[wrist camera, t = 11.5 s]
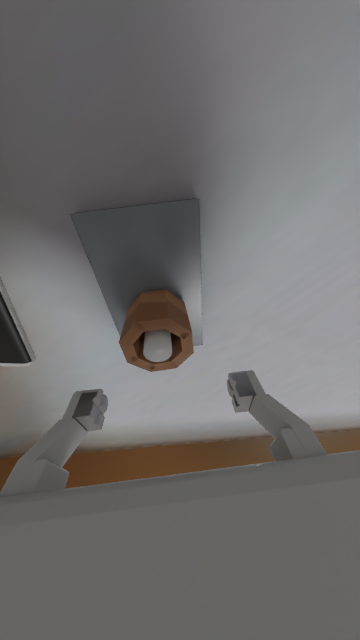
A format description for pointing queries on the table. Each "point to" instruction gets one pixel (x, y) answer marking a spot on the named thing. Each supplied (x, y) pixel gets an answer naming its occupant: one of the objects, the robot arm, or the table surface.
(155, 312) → the ring
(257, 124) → the table surface
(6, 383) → the table surface
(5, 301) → the smartphone
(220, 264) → the table surface
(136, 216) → the post stand
